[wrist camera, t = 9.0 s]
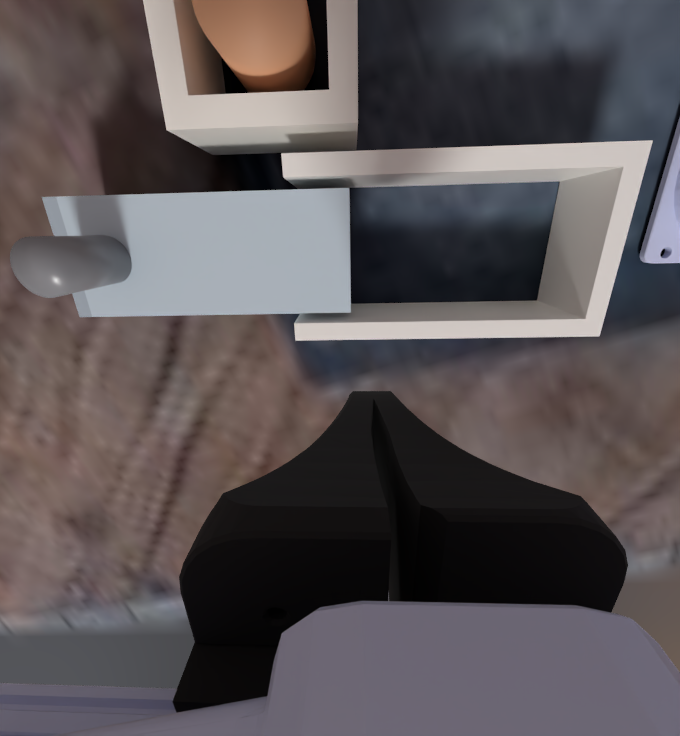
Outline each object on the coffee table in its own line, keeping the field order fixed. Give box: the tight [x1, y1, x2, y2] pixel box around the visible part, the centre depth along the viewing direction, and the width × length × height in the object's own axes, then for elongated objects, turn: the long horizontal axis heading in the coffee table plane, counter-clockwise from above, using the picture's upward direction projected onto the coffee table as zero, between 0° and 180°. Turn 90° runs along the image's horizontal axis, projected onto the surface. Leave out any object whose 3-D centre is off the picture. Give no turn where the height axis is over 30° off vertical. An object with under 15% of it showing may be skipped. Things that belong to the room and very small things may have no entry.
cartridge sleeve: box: [281, 140, 653, 340], centre depth 16 cm, size 14×7×4 cm, turn 91°
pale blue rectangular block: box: [10, 188, 351, 317], centre depth 15 cm, size 13×5×7 cm, turn 91°
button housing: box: [143, 0, 358, 155], centre depth 13 cm, size 7×7×4 cm
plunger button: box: [192, 0, 316, 93], centre depth 13 cm, size 4×4×4 cm
